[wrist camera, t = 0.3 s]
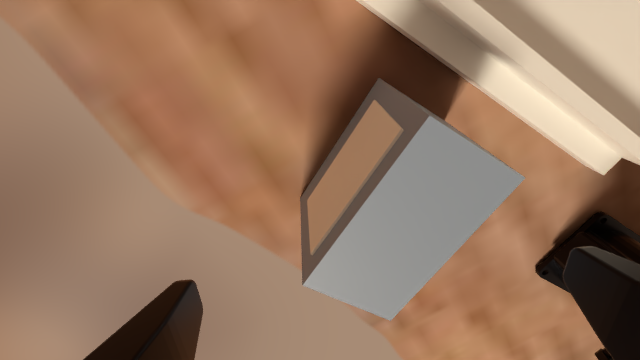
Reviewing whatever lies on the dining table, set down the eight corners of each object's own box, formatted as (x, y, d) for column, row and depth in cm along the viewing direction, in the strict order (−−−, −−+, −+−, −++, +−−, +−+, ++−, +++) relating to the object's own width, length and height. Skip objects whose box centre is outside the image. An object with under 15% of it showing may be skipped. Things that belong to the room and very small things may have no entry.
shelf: (729, 22, 19) (820, 23, 15) (584, 165, 22) (634, 191, 19) (475, -271, 13) (534, -366, 10) (336, -14, 16) (346, -21, 13)
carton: (444, 120, 20) (525, 177, 13) (361, 227, 23) (390, 320, 16) (376, 76, 19) (426, 113, 12) (298, 196, 22) (300, 284, 15)
